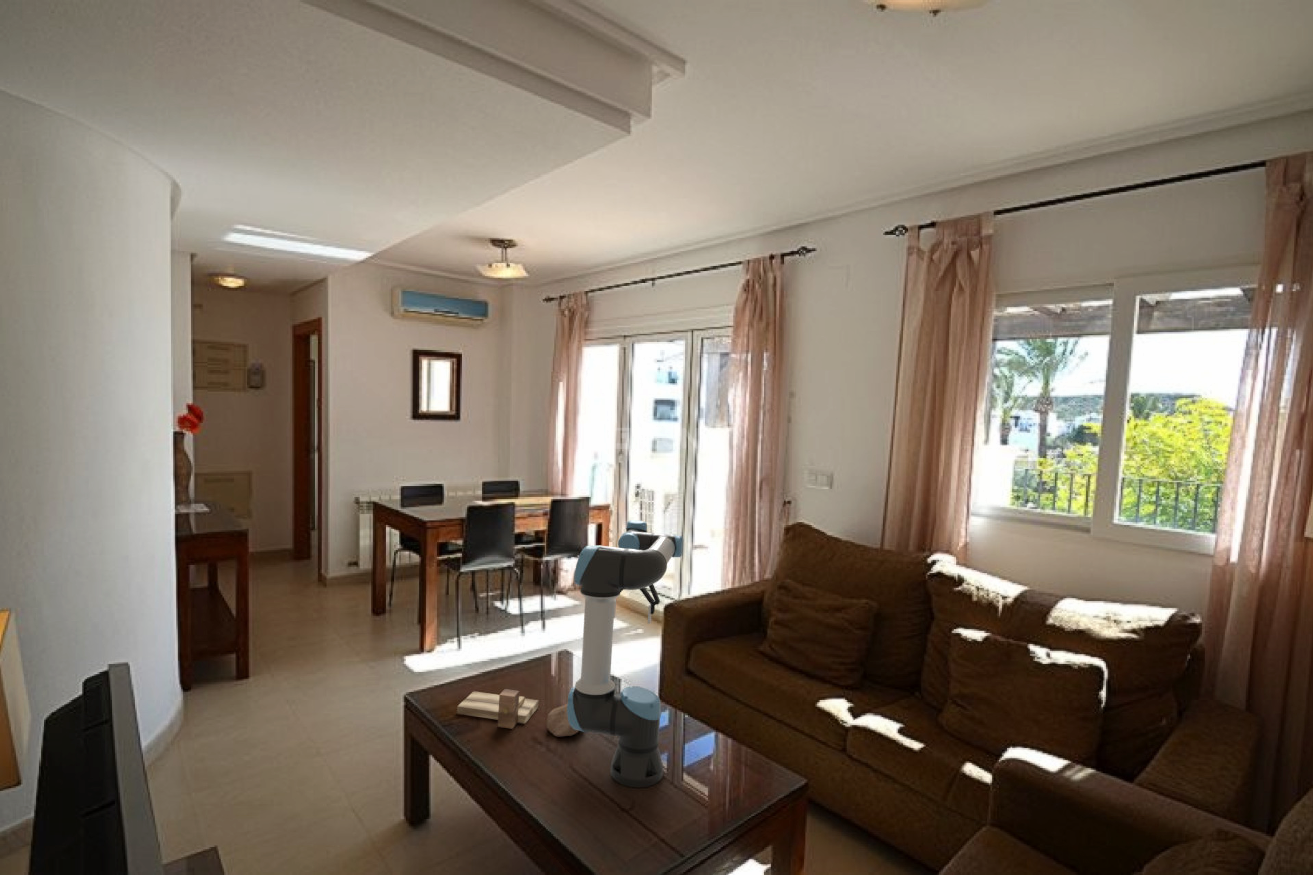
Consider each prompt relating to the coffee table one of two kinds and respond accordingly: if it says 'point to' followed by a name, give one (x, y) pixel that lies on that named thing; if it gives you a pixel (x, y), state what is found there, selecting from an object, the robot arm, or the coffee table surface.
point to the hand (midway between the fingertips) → (631, 620)
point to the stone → (560, 722)
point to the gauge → (509, 708)
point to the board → (493, 707)
